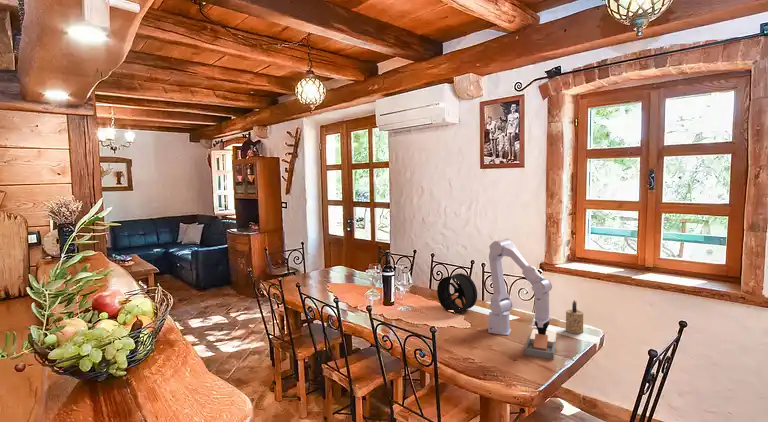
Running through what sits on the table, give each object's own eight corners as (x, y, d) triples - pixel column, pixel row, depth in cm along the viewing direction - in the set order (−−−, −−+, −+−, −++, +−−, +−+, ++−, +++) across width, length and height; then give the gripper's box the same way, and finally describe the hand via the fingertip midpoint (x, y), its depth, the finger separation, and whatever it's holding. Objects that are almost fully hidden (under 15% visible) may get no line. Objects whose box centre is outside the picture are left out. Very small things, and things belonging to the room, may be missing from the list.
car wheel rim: (477, 312, 221) (477, 276, 219) (465, 317, 215) (464, 280, 213) (449, 304, 236) (448, 270, 235) (437, 308, 230) (436, 273, 228)
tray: (524, 355, 169) (524, 348, 168) (528, 343, 179) (528, 337, 179) (553, 359, 164) (553, 353, 163) (555, 347, 174) (555, 341, 174)
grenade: (585, 334, 187) (585, 302, 186) (568, 333, 189) (568, 302, 188) (580, 328, 195) (580, 297, 193) (564, 327, 196) (564, 297, 195)
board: (529, 344, 179) (529, 338, 179) (533, 334, 190) (533, 329, 189) (554, 347, 175) (554, 342, 174) (556, 337, 185) (556, 332, 185)
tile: (533, 349, 173) (533, 346, 172) (535, 336, 178) (535, 333, 177) (546, 351, 170) (546, 348, 169) (548, 338, 175) (547, 335, 174)
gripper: (550, 313, 168) (550, 345, 169) (553, 303, 181) (553, 333, 182) (532, 311, 171) (532, 343, 172) (536, 301, 184) (536, 331, 185)
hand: (542, 337), depth 177 cm, fingers closed
